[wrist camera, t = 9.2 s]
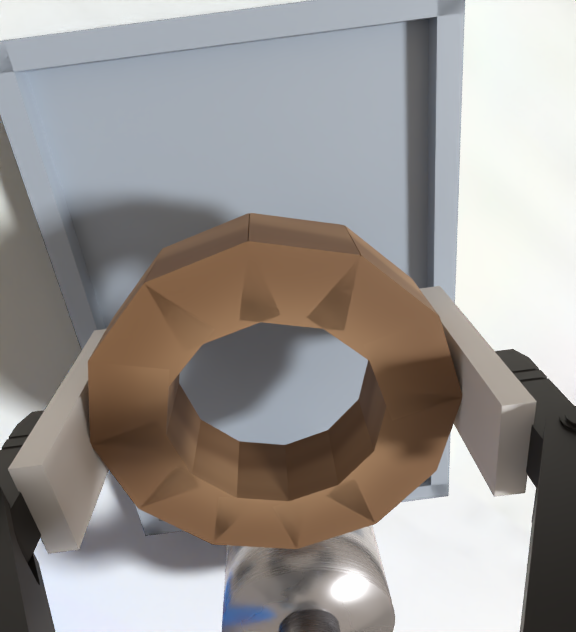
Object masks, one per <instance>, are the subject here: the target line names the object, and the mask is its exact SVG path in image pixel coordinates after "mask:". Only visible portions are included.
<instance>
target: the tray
mask: <svg viewBox="0 0 576 632" xmlns="http://www.w3.org/2000/svg"><path fill="white" fill-rule="evenodd" d="M464 17H465V0H311V1H303V2H296V3H288V4H280V5H273V6H265V7H257V8H250V9H242V10H234V11H227V12H219V13H211V14H204V15H196V16H188V17H180V18H173V19H165V20H157V21H150V22H142V23H134V24H127V25H119V26H111V27H104V28H96V29H88V30H81V31H73V32H65V33H58V34H50V35H42V36H35V37H27V38H19V39H12V40H4V41H0V116H1V119H2V121H3V124H4V127H5V130H6V133H7V136H8V139H9V142H10V145H11V148H12V150H13V153H14V156H15V159H16V162H17V165H18V168H19V171H20V174H21V176H22V179H23V182H24V185H25V188H26V191H27V194H28V197H29V200H30V202H31V205H32V208H33V211H34V214H35V217H36V220H37V223H38V226H39V228H40V231H41V234H42V237H43V240H44V243H45V246H46V249H47V252H48V254H49V257H50V260H51V263H52V266H53V269H54V272H55V275H56V278H57V281H58V283H59V286H60V289H61V292H62V295H63V298H64V301H65V304H66V307H67V309H68V312H69V315H70V318H71V321H72V324H73V327H74V330H75V333H76V335H77V338H78V341H79V344H80V347H81V350H82V349H83V348H84V346H85V345H86V343H87V341H88V340H89V338H90V337H91V335H92V333H93V332H94V330H102V329H107V327H108V326H109V324H110V322H111V320H112V319H113V317H114V316H115V314H116V313H117V311H118V310H119V309H120V307H121V306H122V304H123V303H124V301H125V300H126V299H127V297H128V296H129V294H130V293H131V292H132V290H133V289H134V287H135V286H136V285H137V283H138V282H139V280H140V279H141V278H142V276H143V275H144V273H145V272H146V271H147V269H148V268H149V266H150V265H151V263H152V262H153V261H154V259H155V258H156V256H157V255H158V254H159V252H160V251H161V249H162V248H165V247H167V246H170V245H172V244H174V243H177V242H179V241H182V240H184V239H187V238H189V237H191V236H194V235H196V234H199V233H201V232H204V231H206V230H209V229H211V228H213V227H216V226H218V225H221V224H223V223H226V222H228V221H230V220H233V219H235V218H238V217H240V216H243V215H245V214H247V213H249V214H250V213H256V214H264V215H272V216H279V217H287V218H295V219H302V220H310V221H318V222H325V223H333V224H341V225H344V226H346V227H348V228H349V229H350V230H351V231H353V232H354V233H355V234H357V235H358V236H359V237H360V238H362V239H363V240H364V241H365V242H367V243H368V244H369V245H370V246H372V247H373V248H374V249H375V250H377V251H378V252H379V253H380V254H382V255H383V256H384V257H385V258H387V259H388V260H389V261H391V262H392V263H393V264H394V265H396V266H397V267H398V268H399V269H401V270H402V271H403V272H404V273H406V274H407V275H408V276H409V277H411V278H412V279H413V281H414V282H415V284H416V285H417V286H418V288H419V289H420V288H428V287H435V286H440V287H441V288H442V289H443V290H444V291H445V293H446V294H447V295H448V296H449V297H450V299H451V300H452V301H453V302H454V303H455V283H456V253H457V224H458V194H459V164H460V135H461V105H462V76H463V46H464ZM367 363H368V360H367V359H366V358H364V357H363V356H362V355H360V354H359V353H357V352H356V351H354V350H353V349H351V348H350V347H349V346H347V345H346V344H344V343H343V342H341V341H340V340H339V339H337V338H336V337H334V336H333V335H331V334H330V333H329V332H327V331H326V330H324V329H320V328H311V327H301V326H292V325H282V324H273V323H263V322H260V323H257V324H255V325H252V326H249V327H247V328H244V329H242V330H239V331H236V332H234V333H231V334H229V335H226V336H223V337H221V338H218V339H215V340H213V341H210V342H208V343H205V344H203V345H202V346H201V347H200V348H199V350H198V351H197V352H196V353H195V355H194V356H193V357H192V358H191V360H190V361H189V362H188V363H187V364H186V366H185V367H184V368H183V369H182V371H181V372H180V376H179V384H180V385H181V387H182V389H183V390H184V392H185V394H186V395H187V397H188V399H189V400H190V402H191V404H192V405H193V407H194V409H195V410H196V412H197V414H198V415H199V417H200V419H201V420H203V421H205V422H206V423H208V424H210V425H212V426H213V427H215V428H217V429H219V430H220V431H222V432H224V433H226V434H227V435H229V436H231V437H233V438H234V439H236V440H238V441H242V442H254V443H267V444H279V445H286V444H289V443H292V442H295V441H298V440H301V439H304V438H306V437H309V436H312V435H315V434H318V433H321V432H324V431H327V430H328V429H329V428H330V427H331V426H332V425H333V424H334V423H335V422H336V421H337V420H338V419H339V418H340V417H341V416H342V415H343V414H344V413H345V412H346V411H347V410H348V409H349V408H350V407H351V406H352V405H353V404H354V403H355V402H356V401H357V400H358V399H359V395H360V391H361V387H362V383H363V379H364V375H365V371H366V367H367ZM449 460H450V435H449V437H448V440H447V443H446V446H445V449H444V451H443V454H442V457H441V460H440V463H439V465H438V468H437V470H436V472H435V473H434V474H432V475H431V476H430V477H429V478H428V479H427V480H426V481H424V482H423V483H422V484H421V485H420V486H419V487H418V488H416V489H415V490H414V491H413V492H412V493H411V494H409V495H408V496H407V497H406V498H405V499H404V500H403V501H401V502H406V501H414V500H421V499H429V498H437V497H444V496H448V490H449ZM135 506H136V505H135ZM136 509H137V512H138V515H139V518H140V521H141V523H142V526H143V529H144V532H145V535H146V536H148V535H155V534H163V533H170V532H178V531H184V530H181V529H179V528H177V527H175V526H173V525H171V524H169V523H167V522H165V521H163V520H161V519H159V518H156V517H154V516H152V515H150V514H148V513H146V512H144V511H142V510H140V509H139V508H137V506H136Z"/></svg>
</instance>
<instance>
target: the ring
mask: <svg viewBox="0 0 576 632" xmlns="http://www.w3.org/2000/svg"><path fill="white" fill-rule="evenodd" d="M260 322H263V323H273V324H282V325H292V326H301V327H311V328H320V329H324V330H326V331H327V332H329V333H330V334H331V335H333V336H334V337H336V338H337V339H339V340H340V341H341V342H343V343H344V344H346V345H347V346H349V347H350V348H351V349H353V350H354V351H356V352H357V353H359V354H360V355H362V356H363V357H364V358H366V359H367V360H368V363H367V367H366V371H365V375H364V379H363V383H362V387H361V391H360V395H359V399H358V400H357V401H356V402H355V403H354V404H353V405H352V406H351V407H350V408H349V409H348V410H347V411H346V412H345V413H344V414H343V415H342V416H341V417H340V418H339V419H338V420H337V421H336V422H335V423H334V424H333V425H332V426H331V427H330V428H329V429H328V430H327V431H324V432H321V433H318V434H315V435H312V436H309V437H306V438H304V439H301V440H298V441H295V442H292V443H289V444H286V445H279V444H267V443H254V442H242V441H238V440H236V439H234V438H233V437H231V436H229V435H227V434H226V433H224V432H222V431H220V430H219V429H217V428H215V427H213V426H212V425H210V424H208V423H206V422H205V421H203V420H201V419H200V417H199V415H198V414H197V412H196V410H195V409H194V407H193V405H192V404H191V402H190V400H189V399H188V397H187V395H186V394H185V392H184V390H183V389H182V387H181V385H180V384H179V376H180V372H181V371H182V369H183V368H184V367H185V366H186V364H187V363H188V362H189V361H190V360H191V358H192V357H193V356H194V355H195V353H196V352H197V351H198V350H199V348H200V347H201V346H202V345H203V344H205V343H208V342H210V341H213V340H215V339H218V338H221V337H223V336H226V335H229V334H231V333H234V332H236V331H239V330H242V329H244V328H247V327H249V326H252V325H255V324H257V323H260ZM88 389H89V423H90V443H91V445H92V447H93V449H94V450H95V451H96V453H97V454H98V456H99V457H100V458H101V460H102V461H103V462H104V464H105V465H106V466H107V468H108V469H109V470H110V472H111V473H112V474H113V476H114V477H115V478H116V480H117V481H118V482H119V484H120V485H121V486H122V488H123V489H124V490H125V492H126V493H127V494H128V496H129V497H130V498H131V500H132V501H133V502H134V504H135V505H136V506H137V508H139V509H140V510H142V511H144V512H146V513H148V514H150V515H152V516H154V517H156V518H159V519H161V520H163V521H165V522H167V523H169V524H171V525H173V526H175V527H177V528H179V529H181V530H184V531H186V532H188V533H190V534H192V535H194V536H196V537H198V538H200V539H202V540H204V541H206V542H209V543H211V544H213V545H230V546H248V547H265V548H283V549H296V548H297V549H299V548H302V547H305V546H308V545H312V544H315V543H318V542H321V541H324V540H327V539H330V538H333V537H336V536H340V535H343V534H346V533H349V532H352V531H355V530H358V529H361V528H364V527H368V526H371V525H374V524H375V523H377V522H379V521H380V520H381V519H382V518H383V517H384V516H385V515H387V514H388V513H389V512H390V511H391V510H392V509H393V508H395V507H396V506H397V505H398V504H399V503H400V502H401V501H403V500H404V499H405V498H406V497H407V496H408V495H409V494H411V493H412V492H413V491H414V490H415V489H416V488H418V487H419V486H420V485H421V484H422V483H423V482H424V481H426V480H427V479H428V478H429V477H430V476H431V475H432V474H434V473H435V472H436V470H437V468H438V465H439V463H440V460H441V457H442V454H443V451H444V449H445V446H446V443H447V440H448V437H449V435H450V432H451V429H452V426H453V423H454V421H455V418H456V415H457V412H458V409H459V406H460V404H461V401H462V392H461V388H460V385H459V381H458V378H457V374H456V371H455V368H454V364H453V361H452V357H451V354H450V350H449V347H448V344H447V340H446V337H445V333H444V330H443V326H442V323H441V320H440V316H439V315H438V314H437V312H436V311H435V310H434V308H433V307H432V305H431V304H430V303H429V301H428V300H427V299H426V297H425V296H424V295H423V293H422V292H421V290H420V289H419V288H418V286H417V285H416V284H415V282H414V281H413V279H412V278H411V277H409V276H408V275H407V274H406V273H404V272H403V271H402V270H401V269H399V268H398V267H397V266H396V265H394V264H393V263H392V262H391V261H389V260H388V259H387V258H385V257H384V256H383V255H382V254H380V253H379V252H378V251H377V250H375V249H374V248H373V247H372V246H370V245H369V244H368V243H367V242H365V241H364V240H363V239H362V238H360V237H359V236H358V235H357V234H355V233H354V232H353V231H351V230H350V229H349V228H348V227H346V226H344V225H341V224H333V223H325V222H318V221H310V220H302V219H295V218H287V217H279V216H272V215H264V214H256V213H250V214H249V213H247V214H245V215H243V216H240V217H238V218H235V219H233V220H230V221H228V222H226V223H223V224H221V225H218V226H216V227H213V228H211V229H209V230H206V231H204V232H201V233H199V234H196V235H194V236H191V237H189V238H187V239H184V240H182V241H179V242H177V243H174V244H172V245H170V246H167V247H165V248H162V249H161V251H160V252H159V254H158V255H157V256H156V258H155V259H154V261H153V262H152V263H151V265H150V266H149V268H148V269H147V271H146V272H145V273H144V275H143V276H142V278H141V279H140V280H139V282H138V283H137V285H136V286H135V287H134V289H133V290H132V292H131V293H130V294H129V296H128V297H127V299H126V300H125V301H124V303H123V304H122V306H121V307H120V309H119V310H118V311H117V313H116V314H115V316H114V317H113V319H112V320H111V322H110V324H109V326H108V327H107V329H106V331H105V333H104V334H103V336H102V338H101V339H100V341H99V343H98V345H97V346H96V348H95V350H94V351H93V353H92V355H91V357H90V358H89V360H88Z"/></svg>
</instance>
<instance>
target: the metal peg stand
mask: <svg viewBox="0 0 576 632" xmlns="http://www.w3.org/2000/svg"><path fill="white" fill-rule="evenodd" d="M394 625H395V614H394V608H393V605H392V601H391V597H390V593H389V589H388V585H387V581H386V577H385V573H384V569H383V566H382V562H381V558H380V554H379V550H378V546H377V542H376V538H375V534H374V531H373V527H372V525H371V526H368V527H364V528H361V529H358V530H355V531H352V532H349V533H346V534H343V535H340V536H336V537H333V538H330V539H327V540H324V541H321V542H318V543H315V544H312V545H308V546H305V547H302V548H299V549H297V548H296V549H283V548H265V547H248V546H230V545H227V552H226V569H225V586H224V603H223V620H222V632H393V628H394Z"/></svg>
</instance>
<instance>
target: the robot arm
mask: <svg viewBox="0 0 576 632" xmlns="http://www.w3.org/2000/svg"><path fill="white" fill-rule="evenodd" d="M420 290H421V292H422V293H423V295H424V296H425V297H426V299H427V300H428V301H429V303H430V304H431V305H432V307H433V308H434V310H435V311H436V312H437V314H438V315H439V316H440V320H441V323H442V326H443V330H444V333H445V337H446V340H447V344H448V347H449V350H450V354H451V357H452V361H453V364H454V368H455V371H456V374H457V378H458V381H459V385H460V388H461V392H462V401H461V404H460V406H459V409H458V412H457V415H456V418H455V421H454V425H455V427H456V428H457V430H458V432H459V434H460V436H461V437H462V439H463V441H464V443H465V445H466V447H467V448H468V450H469V452H470V454H471V456H472V457H473V459H474V461H475V463H476V465H477V467H478V468H479V470H480V472H481V474H482V476H483V477H484V479H485V481H486V483H487V485H488V486H489V488H490V490H491V492H492V494H493V496H494V497H496V496H504V495H512V494H520V493H525V490H526V482H527V475H528V476H529V478H530V479H531V481H532V482H533V484H534V485H535V487H536V494H535V501H534V508H533V516H532V528H531V537H530V546H529V555H528V564H527V573H526V582H525V591H524V599H523V608H522V617H521V626H520V632H576V406H574V405H573V404H572V403H571V402H570V401H569V400H568V399H567V398H566V397H565V396H564V395H563V394H562V393H561V391H560V390H559V389H558V388H557V387H556V386H555V385H554V384H553V383H552V382H551V381H550V380H549V379H547V376H546V375H545V374H544V373H543V372H542V371H541V370H539V368H538V367H537V366H536V365H535V364H534V363H533V362H532V360H531V359H530V358H529V357H527V356H525V355H523V354H521V353H519V352H517V351H516V350H514V349H510V350H502V351H494V350H493V349H492V348H491V346H490V345H489V344H488V343H487V342H486V340H485V339H484V338H483V337H482V336H481V334H480V333H479V332H478V331H477V330H476V328H475V327H474V326H473V325H472V324H471V322H470V321H469V320H468V319H467V318H466V316H465V315H464V314H463V313H462V312H461V311H460V309H459V308H458V307H457V306H456V305H455V303H454V302H453V301H452V300H451V299H450V297H449V296H448V295H447V294H446V293H445V291H444V290H443V289H442V288H441V287H440V286H435V287H428V288H420ZM105 331H106V329H102V330H94V332H93V333H92V335H91V337H90V338H89V340H88V341H87V343H86V345H85V346H84V348H83V349H82V351H81V353H80V354H79V356H78V357H77V359H76V361H75V362H74V364H73V365H72V367H71V369H70V370H69V372H68V373H67V375H66V377H65V378H64V380H63V381H62V383H61V385H60V386H59V388H58V389H57V391H56V393H55V394H54V396H53V397H52V399H51V401H50V402H49V404H48V406H47V407H46V409H45V410H44V411H36V412H32V413H30V414H29V415H28V416H27V417H26V418H24V419H23V420H22V421H21V422H20V423H18V424H17V426H16V427H15V429H14V430H13V432H12V433H11V435H10V436H9V439H8V440H6V442H5V443H4V445H3V446H2V450H0V632H55V629H54V624H53V620H52V616H51V612H50V608H49V604H48V600H47V596H46V591H45V587H44V583H43V579H42V575H41V571H40V567H39V563H38V561H37V559H36V557H35V555H34V553H33V552H34V550H35V548H36V546H37V543H38V541H39V539H40V537H41V540H42V542H43V544H44V546H45V548H46V550H47V552H48V554H49V553H57V552H65V551H73V550H79V548H80V546H81V543H82V540H83V538H84V535H85V532H86V529H87V527H88V524H89V521H90V519H91V516H92V513H93V511H94V508H95V505H96V503H97V500H98V497H99V494H100V492H101V489H102V486H103V484H104V481H105V478H106V476H107V473H108V470H109V469H108V468H107V466H106V465H105V464H104V462H103V461H102V460H101V458H100V457H99V456H98V454H97V453H96V451H95V450H94V449H93V447H92V445H91V443H90V423H89V389H88V360H89V358H90V357H91V355H92V353H93V351H94V350H95V348H96V346H97V345H98V343H99V341H100V339H101V338H102V336H103V334H104V333H105Z"/></svg>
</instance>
